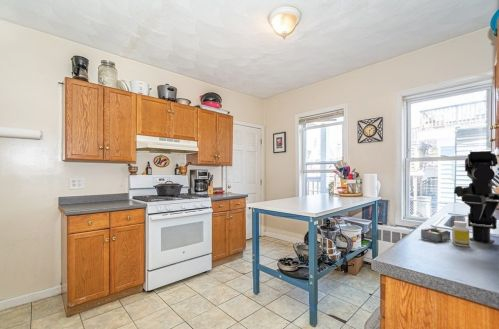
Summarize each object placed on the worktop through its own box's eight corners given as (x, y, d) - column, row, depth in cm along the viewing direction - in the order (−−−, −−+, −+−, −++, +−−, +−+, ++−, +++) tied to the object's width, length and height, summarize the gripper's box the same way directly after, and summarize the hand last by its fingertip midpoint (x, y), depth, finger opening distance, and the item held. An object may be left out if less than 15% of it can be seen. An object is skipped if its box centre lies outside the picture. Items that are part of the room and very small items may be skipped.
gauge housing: (433, 235, 113) (433, 227, 113) (450, 239, 106) (450, 230, 106) (421, 238, 108) (420, 229, 109) (437, 242, 102) (437, 233, 102)
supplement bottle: (473, 247, 96) (472, 223, 96) (458, 246, 97) (457, 223, 97) (463, 243, 101) (462, 220, 101) (449, 242, 102) (448, 220, 102)
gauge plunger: (428, 233, 112) (428, 226, 112) (448, 238, 105) (447, 230, 105) (422, 235, 110) (422, 227, 110) (442, 239, 103) (442, 231, 103)
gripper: (468, 179, 106) (470, 213, 106) (445, 180, 99) (447, 217, 98) (502, 180, 96) (504, 218, 95) (480, 181, 88) (481, 222, 88)
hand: (483, 218), depth 94 cm, fingers open, 9 cm apart
